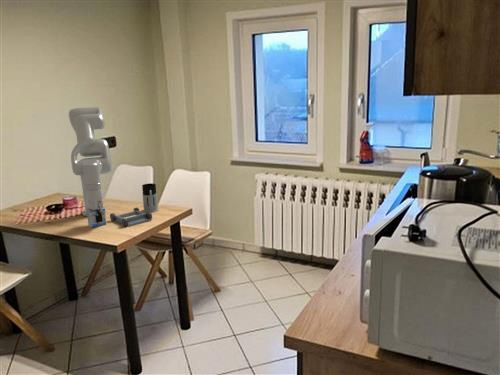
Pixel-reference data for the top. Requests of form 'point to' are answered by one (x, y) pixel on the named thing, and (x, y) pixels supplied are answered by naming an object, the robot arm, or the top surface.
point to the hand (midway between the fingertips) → (97, 220)
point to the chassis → (131, 218)
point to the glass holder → (150, 198)
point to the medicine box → (92, 218)
